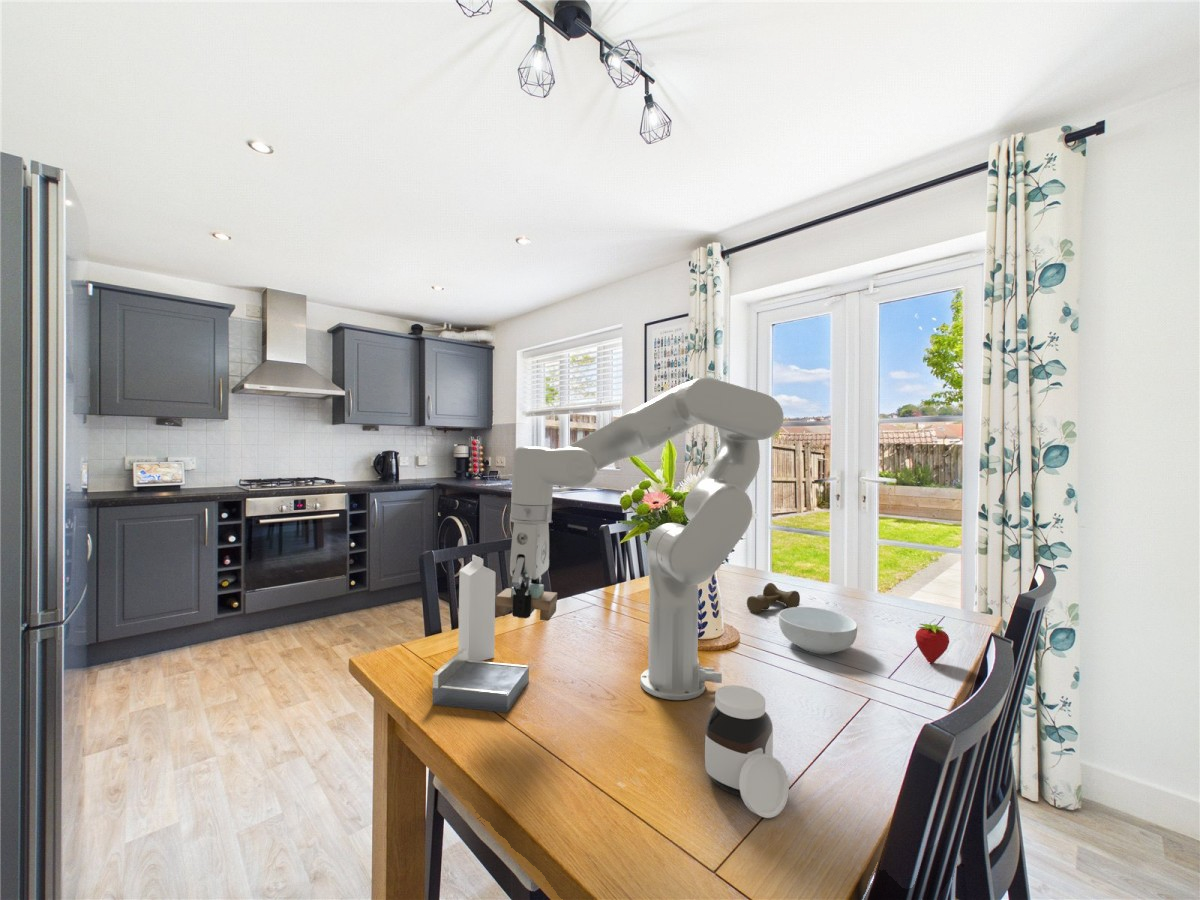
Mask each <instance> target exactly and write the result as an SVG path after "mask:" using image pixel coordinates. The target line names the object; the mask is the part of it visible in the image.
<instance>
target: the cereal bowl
mask: <svg viewBox="0 0 1200 900" xmlns="http://www.w3.org/2000/svg"><path fill="white" fill-rule="evenodd" d="M778 625H779V628H780V629H779V630H780V631H781V633H782V634H783V635H784V637H785V638H786V639H787V640H788V641H789V642H791V643H792V644H794V645H796V646H798V647H800V648H801V649H802V650H804V651H806V652H808V651H809V652H808V653H812V654H815V655H816V654H817V655H829V654H830V653H831V654H833V653H838V652H842V651H845V650H848V649H849V648H850V647H852V645H853V644H854V643H855V641H856V639H857V635H858V634H857V633H858V624H857V622H856V621H855V620H854V619H852V618H851V617H850V616H847V615H845V614H842V613H839V612H837V611H833V610H830V609H823V608H818V607H812V606H811V607H809V606H798V607H792V608H788V607H787V608H785V609H781V610H780V611H779V613H778Z"/></svg>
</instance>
